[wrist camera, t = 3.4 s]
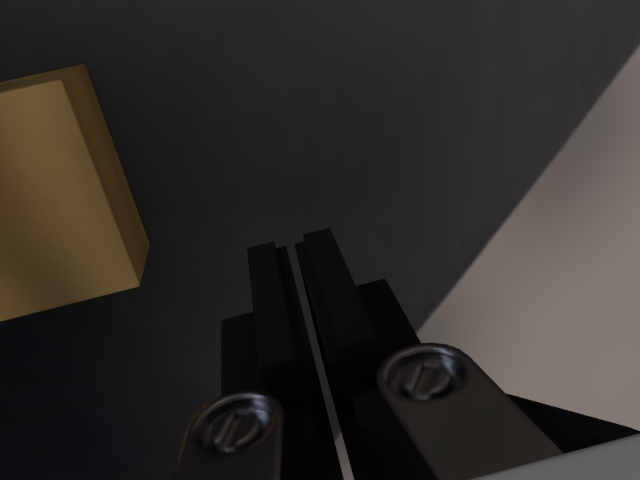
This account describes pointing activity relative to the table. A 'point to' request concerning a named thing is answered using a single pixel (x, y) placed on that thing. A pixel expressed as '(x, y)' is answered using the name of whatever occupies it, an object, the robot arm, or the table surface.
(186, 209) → the table surface
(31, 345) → the table surface
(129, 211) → the maple block
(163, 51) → the table surface
